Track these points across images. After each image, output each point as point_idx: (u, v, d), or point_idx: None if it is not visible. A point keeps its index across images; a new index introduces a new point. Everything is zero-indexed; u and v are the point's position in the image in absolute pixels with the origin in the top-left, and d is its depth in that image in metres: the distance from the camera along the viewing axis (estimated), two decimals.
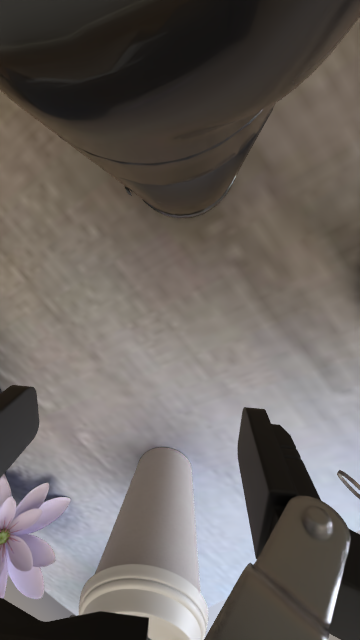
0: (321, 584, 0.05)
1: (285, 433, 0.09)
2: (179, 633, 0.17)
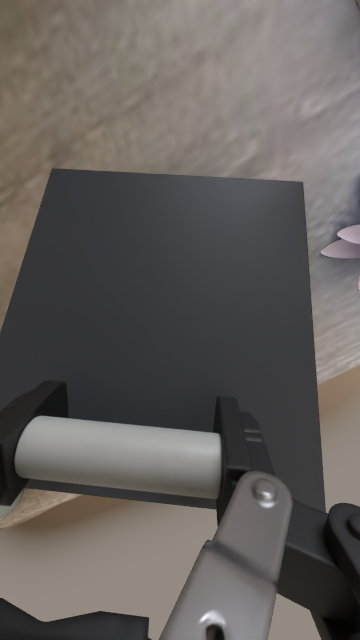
0: (270, 545, 0.05)
1: (253, 419, 0.10)
2: None
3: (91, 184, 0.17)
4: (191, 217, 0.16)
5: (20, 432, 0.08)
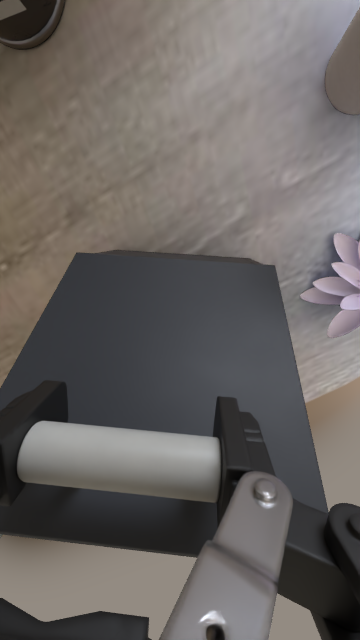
0: (270, 545, 0.05)
1: (253, 419, 0.10)
2: None
3: (107, 263, 0.21)
4: (186, 287, 0.19)
5: (20, 432, 0.08)
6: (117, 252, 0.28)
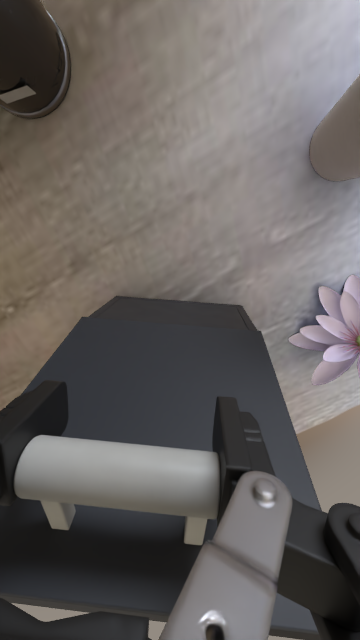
0: (271, 545, 0.05)
1: (253, 419, 0.10)
2: None
3: (109, 325, 0.23)
4: (182, 345, 0.21)
5: (20, 432, 0.08)
6: (118, 304, 0.30)
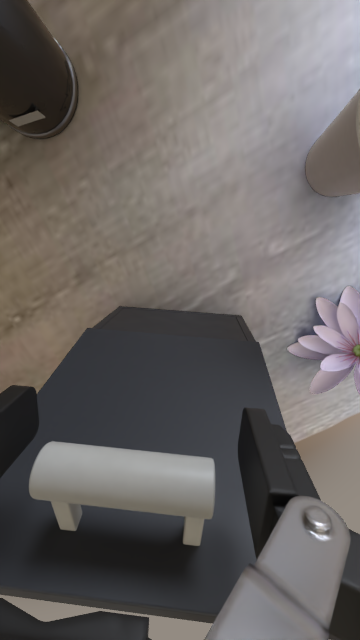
0: (321, 584, 0.05)
1: (285, 433, 0.09)
2: None
3: (113, 336, 0.24)
4: (183, 356, 0.22)
5: None
6: (121, 314, 0.31)
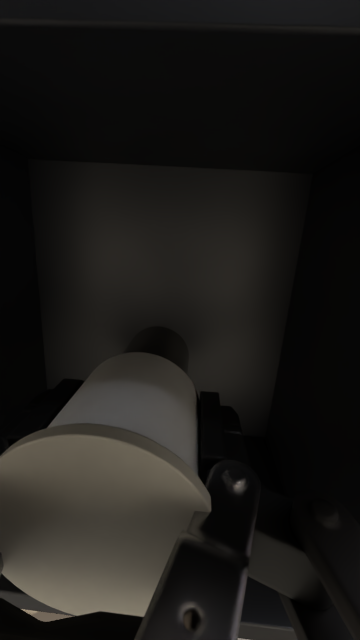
0: (242, 528, 0.05)
1: (234, 413, 0.10)
2: None
3: None
4: None
5: None
6: None
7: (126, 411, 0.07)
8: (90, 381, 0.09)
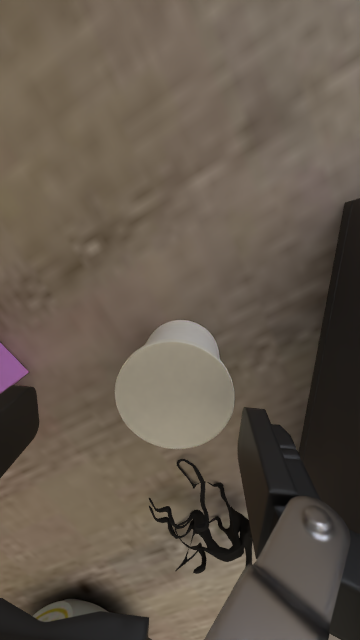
0: (322, 584, 0.05)
1: (285, 433, 0.09)
2: None
3: None
4: None
5: None
6: None
7: (184, 340, 0.13)
8: (156, 333, 0.15)
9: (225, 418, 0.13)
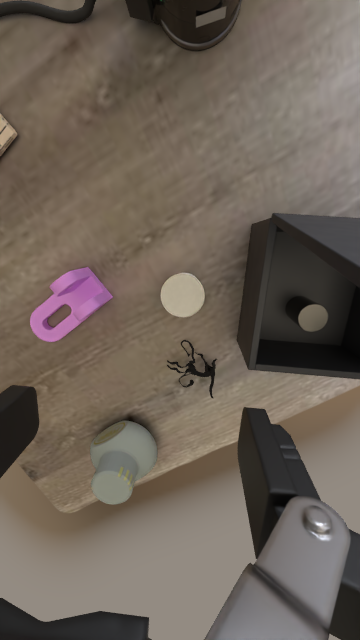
0: (321, 584, 0.05)
1: (285, 433, 0.09)
2: None
3: (305, 216, 0.25)
4: None
5: None
6: None
7: None
8: None
9: (201, 303, 0.34)
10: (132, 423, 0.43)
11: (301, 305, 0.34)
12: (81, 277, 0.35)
